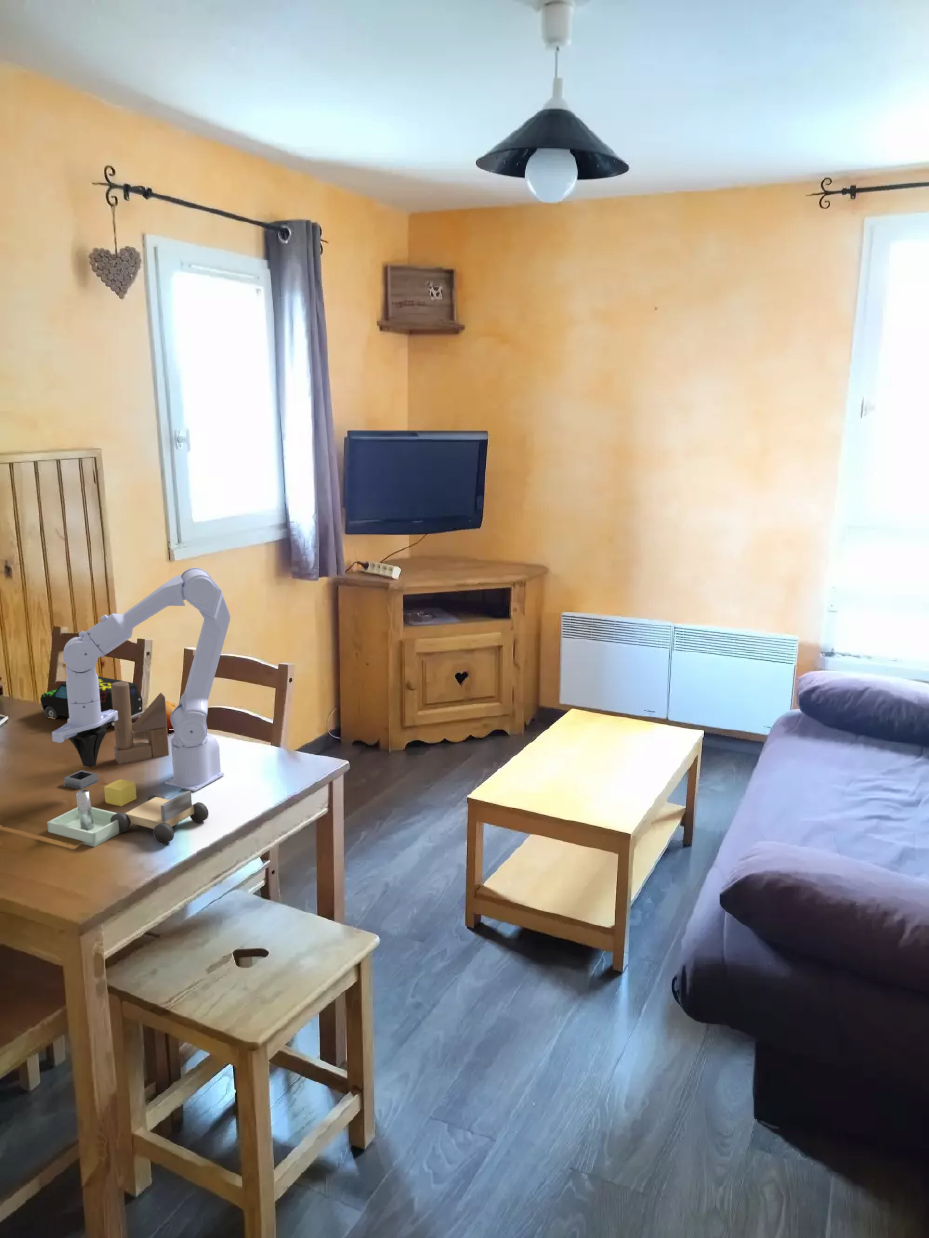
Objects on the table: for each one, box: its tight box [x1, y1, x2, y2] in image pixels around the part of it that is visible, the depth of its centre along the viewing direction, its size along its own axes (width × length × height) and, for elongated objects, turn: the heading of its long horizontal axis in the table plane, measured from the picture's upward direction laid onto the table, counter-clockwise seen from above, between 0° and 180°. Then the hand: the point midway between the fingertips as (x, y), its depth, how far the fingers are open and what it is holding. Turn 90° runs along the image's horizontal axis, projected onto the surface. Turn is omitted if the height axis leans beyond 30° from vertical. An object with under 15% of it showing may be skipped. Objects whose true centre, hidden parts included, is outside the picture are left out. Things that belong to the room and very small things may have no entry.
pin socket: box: [62, 769, 101, 791], centre depth 181 cm, size 5×5×2 cm
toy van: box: [40, 676, 145, 730], centre depth 220 cm, size 11×25×10 cm, turn 66°
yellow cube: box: [103, 778, 137, 807], centre depth 173 cm, size 4×4×4 cm
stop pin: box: [75, 789, 94, 831], centre depth 160 cm, size 2×2×7 cm
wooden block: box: [111, 680, 170, 765], centre depth 193 cm, size 4×11×18 cm, turn 121°
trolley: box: [111, 790, 209, 845], centre depth 163 cm, size 10×14×6 cm
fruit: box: [165, 700, 178, 733], centre depth 212 cm, size 8×8×8 cm
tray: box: [46, 806, 120, 848], centre depth 161 cm, size 8×11×2 cm
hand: (89, 765), depth 174 cm, fingers closed
